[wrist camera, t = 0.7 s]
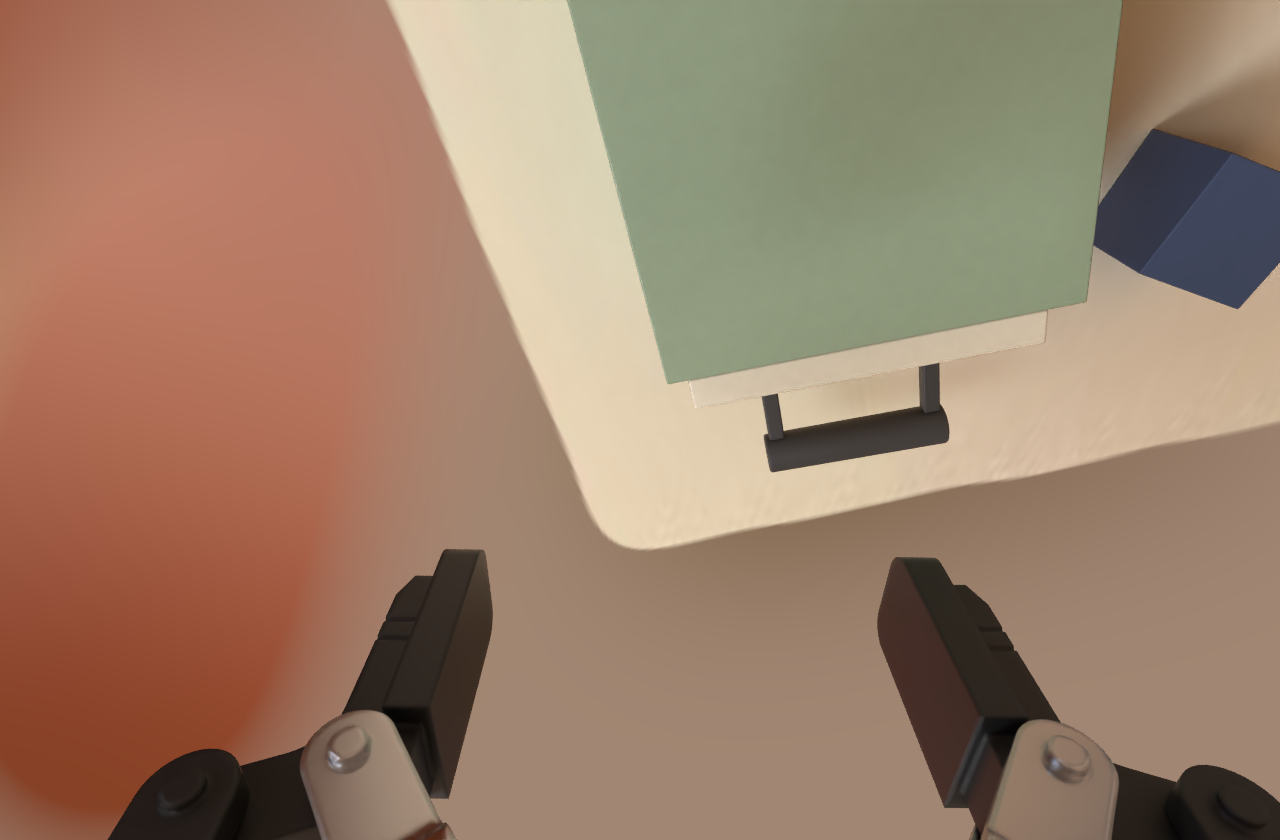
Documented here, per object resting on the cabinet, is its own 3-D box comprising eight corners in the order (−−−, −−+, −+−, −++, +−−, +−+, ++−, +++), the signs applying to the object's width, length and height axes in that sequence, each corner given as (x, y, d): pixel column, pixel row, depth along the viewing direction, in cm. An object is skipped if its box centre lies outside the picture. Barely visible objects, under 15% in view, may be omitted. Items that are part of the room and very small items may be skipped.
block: (1152, 128, 26) (1233, 152, 22) (1246, 166, 26) (1340, 196, 23) (1077, 235, 28) (1138, 273, 24) (1165, 267, 29) (1238, 309, 25)
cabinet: (965, 209, 28) (1087, 302, 20) (667, 276, 30) (667, 385, 22) (972, -272, 20) (1177, -443, 12) (569, -137, 22) (512, -206, 14)
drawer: (956, 369, 31) (1034, 474, 24) (711, 415, 32) (722, 524, 26) (961, -152, 21) (1095, -213, 14) (607, -43, 23) (583, -53, 16)
